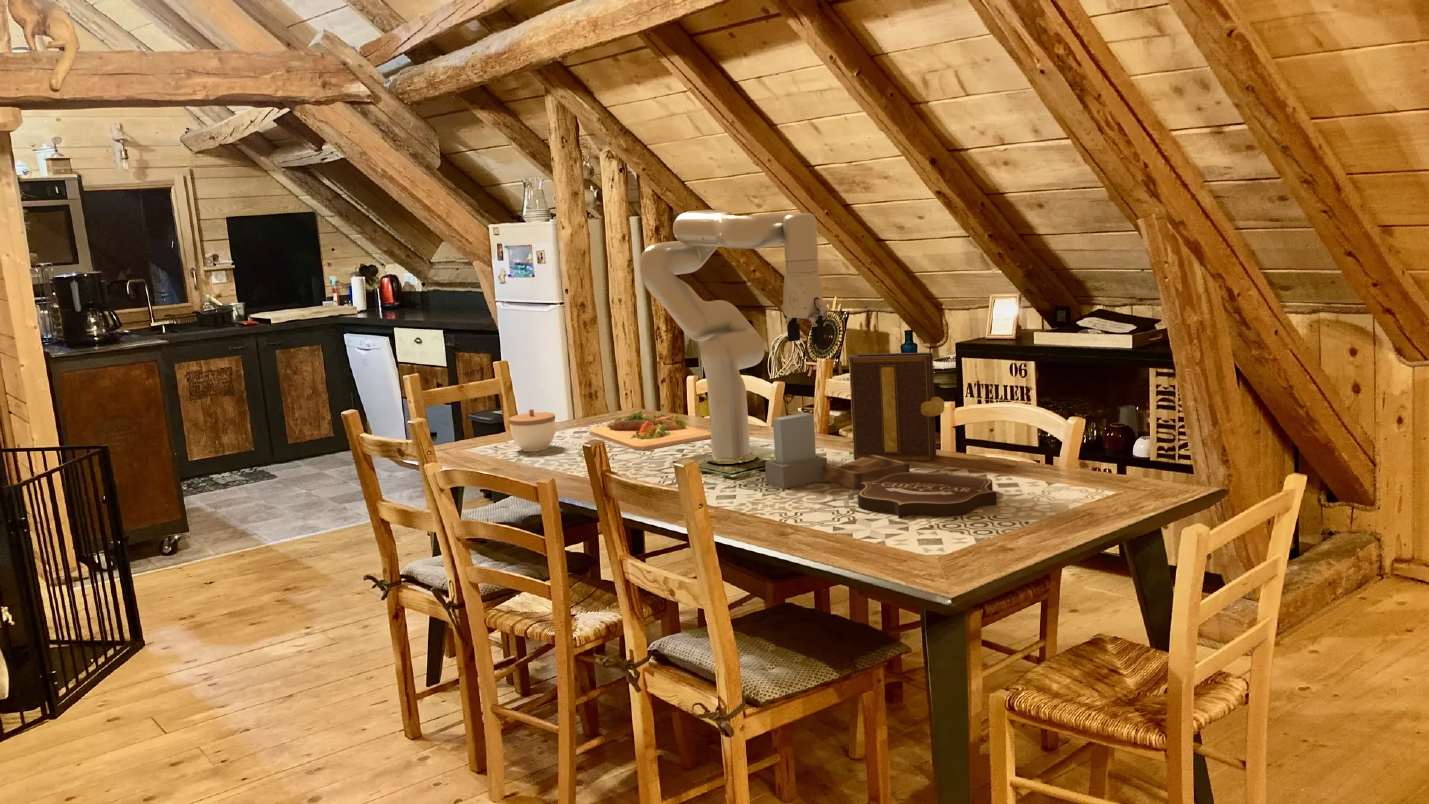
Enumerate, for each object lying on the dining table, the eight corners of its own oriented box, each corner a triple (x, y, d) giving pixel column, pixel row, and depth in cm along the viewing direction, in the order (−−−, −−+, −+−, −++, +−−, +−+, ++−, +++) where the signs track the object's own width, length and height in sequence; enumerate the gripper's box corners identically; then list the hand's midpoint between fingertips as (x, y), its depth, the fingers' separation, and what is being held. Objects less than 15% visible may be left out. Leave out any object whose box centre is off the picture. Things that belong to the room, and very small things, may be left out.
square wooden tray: (823, 480, 263) (822, 465, 262) (874, 469, 270) (873, 454, 269) (858, 490, 252) (857, 474, 251) (909, 478, 259) (909, 463, 258)
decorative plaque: (828, 500, 235) (885, 466, 261) (829, 514, 236) (885, 479, 261) (972, 511, 220) (1017, 474, 245) (973, 526, 220) (1018, 488, 246)
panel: (776, 479, 263) (772, 418, 260) (809, 472, 267) (806, 412, 265) (783, 481, 260) (780, 420, 258) (816, 474, 264) (813, 414, 262)
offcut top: (844, 473, 261) (844, 463, 260) (862, 466, 266) (862, 457, 266) (861, 475, 258) (861, 466, 257) (879, 469, 263) (879, 459, 263)
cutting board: (715, 439, 320) (713, 413, 319) (638, 453, 309) (636, 425, 307) (658, 423, 350) (656, 398, 349) (586, 435, 339) (584, 410, 338)
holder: (766, 483, 264) (765, 461, 263) (809, 474, 270) (808, 453, 269) (784, 488, 258) (782, 466, 257) (828, 479, 263) (826, 457, 263)
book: (851, 461, 280) (846, 358, 276) (858, 453, 288) (853, 353, 283) (943, 462, 272) (939, 356, 268) (948, 454, 280) (944, 351, 276)
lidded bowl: (567, 445, 323) (563, 406, 321) (536, 455, 313) (532, 414, 311) (533, 442, 330) (529, 404, 328) (502, 452, 320) (498, 412, 318)
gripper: (767, 269, 271) (772, 341, 274) (810, 269, 256) (814, 346, 259) (794, 266, 275) (798, 338, 278) (837, 267, 260) (841, 342, 263)
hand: (806, 342), depth 269 cm, fingers open, 9 cm apart
